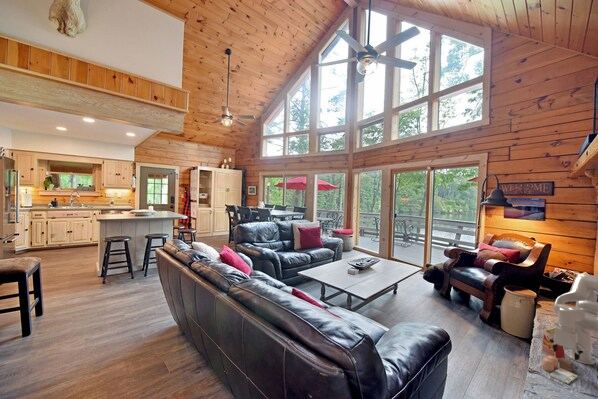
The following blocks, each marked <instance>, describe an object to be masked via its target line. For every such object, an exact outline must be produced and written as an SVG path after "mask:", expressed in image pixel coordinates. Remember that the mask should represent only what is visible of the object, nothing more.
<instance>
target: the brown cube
mask: <svg viewBox="0 0 598 399" xmlns="http://www.w3.org/2000/svg"><path fill="white" fill-rule="evenodd" d="M565 358H566V357H565ZM565 358H561V359H558V368H562V369H564V370H566V371H568V372H571V373H572V371H574V364H575V363H574V361H571V360H569V359H568V358H566V359H565Z"/></svg>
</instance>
